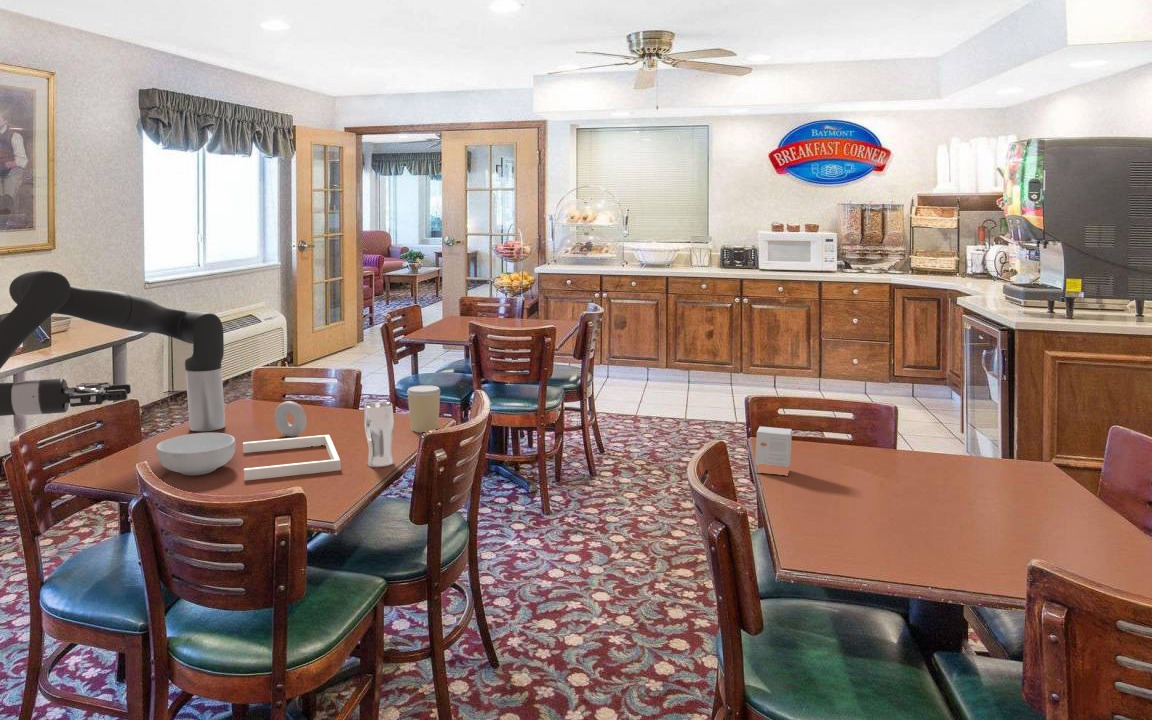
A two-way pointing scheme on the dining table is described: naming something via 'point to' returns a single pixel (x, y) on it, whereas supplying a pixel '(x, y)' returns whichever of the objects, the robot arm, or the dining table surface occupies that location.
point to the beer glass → (379, 433)
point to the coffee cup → (424, 407)
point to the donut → (282, 420)
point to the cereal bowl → (196, 452)
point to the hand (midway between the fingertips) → (128, 391)
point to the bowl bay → (296, 467)
